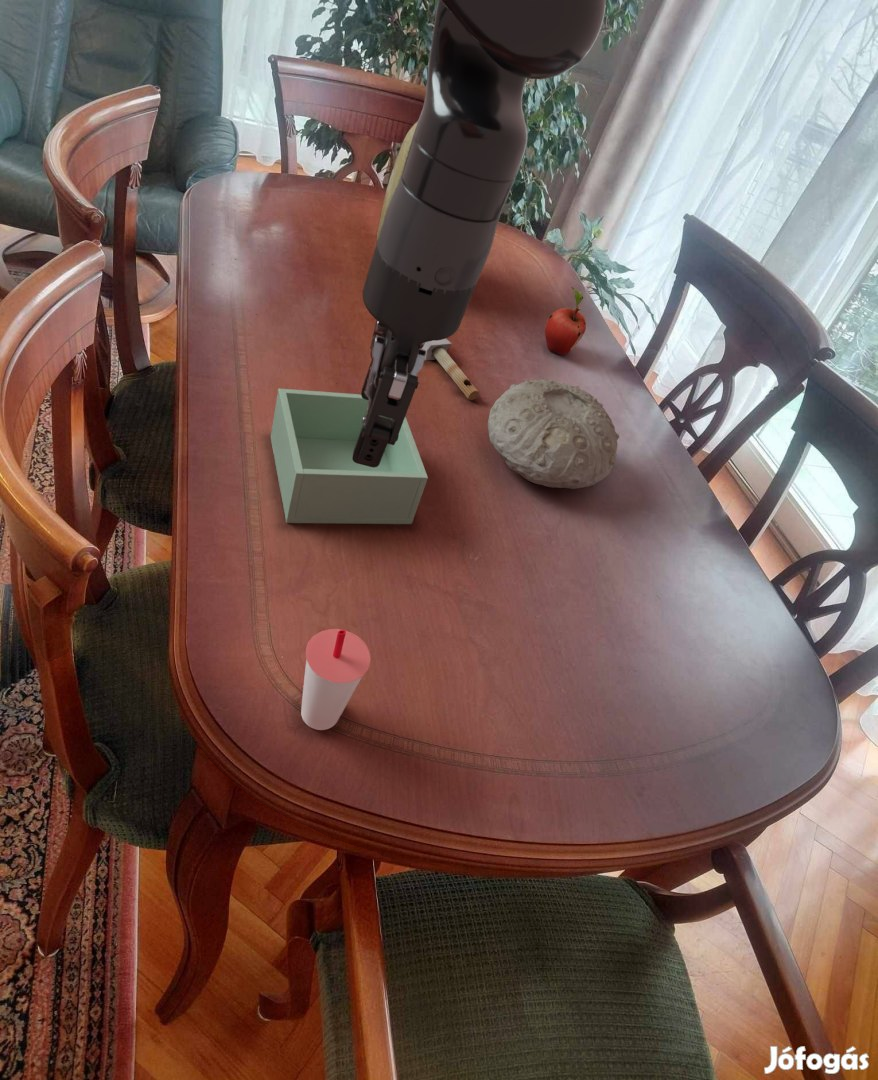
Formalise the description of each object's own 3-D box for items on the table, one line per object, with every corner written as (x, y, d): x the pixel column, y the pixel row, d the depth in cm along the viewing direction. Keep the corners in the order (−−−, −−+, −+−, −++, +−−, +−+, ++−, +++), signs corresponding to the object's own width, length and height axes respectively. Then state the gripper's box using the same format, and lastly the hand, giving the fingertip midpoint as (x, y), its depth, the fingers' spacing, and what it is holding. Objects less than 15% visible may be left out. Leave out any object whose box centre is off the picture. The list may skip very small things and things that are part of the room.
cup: (279, 700, 70) (300, 617, 62) (331, 680, 73) (357, 598, 65) (307, 749, 67) (332, 669, 59) (360, 726, 70) (391, 646, 62)
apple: (583, 361, 130) (608, 308, 124) (551, 363, 127) (574, 308, 120) (558, 335, 135) (581, 282, 128) (527, 336, 131) (549, 282, 125)
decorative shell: (610, 518, 102) (645, 460, 95) (481, 491, 99) (507, 429, 92) (589, 435, 115) (618, 379, 108) (474, 409, 111) (497, 349, 105)
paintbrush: (421, 305, 122) (487, 387, 112) (416, 320, 124) (480, 402, 114) (400, 306, 120) (465, 389, 110) (395, 321, 122) (459, 404, 112)
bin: (286, 523, 85) (296, 473, 80) (270, 437, 95) (278, 388, 90) (411, 524, 91) (428, 477, 86) (385, 443, 100) (398, 396, 95)
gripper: (384, 195, 59) (333, 368, 70) (370, 289, 49) (314, 474, 60) (477, 228, 60) (414, 392, 71) (482, 325, 50) (407, 498, 62)
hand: (368, 429), depth 66 cm, fingers open, 8 cm apart
